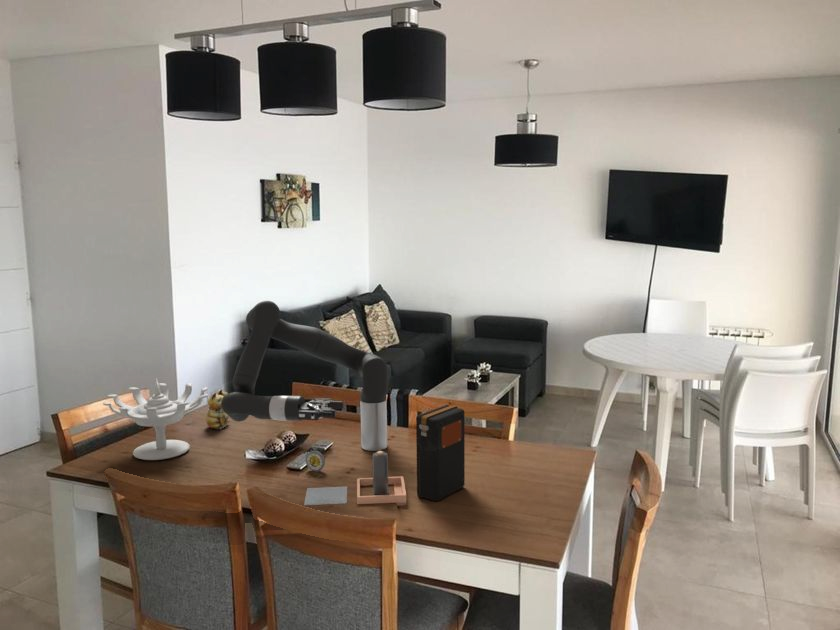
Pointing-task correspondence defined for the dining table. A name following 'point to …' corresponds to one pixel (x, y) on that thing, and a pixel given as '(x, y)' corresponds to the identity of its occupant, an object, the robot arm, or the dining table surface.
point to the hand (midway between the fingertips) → (339, 409)
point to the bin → (398, 497)
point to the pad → (326, 495)
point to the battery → (380, 473)
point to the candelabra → (158, 419)
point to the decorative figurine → (216, 411)
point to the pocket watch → (315, 460)
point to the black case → (440, 452)
